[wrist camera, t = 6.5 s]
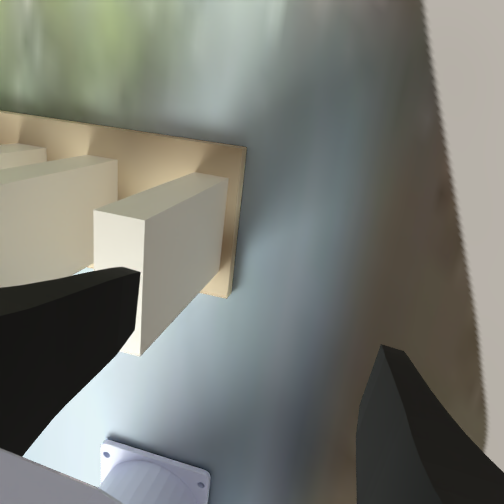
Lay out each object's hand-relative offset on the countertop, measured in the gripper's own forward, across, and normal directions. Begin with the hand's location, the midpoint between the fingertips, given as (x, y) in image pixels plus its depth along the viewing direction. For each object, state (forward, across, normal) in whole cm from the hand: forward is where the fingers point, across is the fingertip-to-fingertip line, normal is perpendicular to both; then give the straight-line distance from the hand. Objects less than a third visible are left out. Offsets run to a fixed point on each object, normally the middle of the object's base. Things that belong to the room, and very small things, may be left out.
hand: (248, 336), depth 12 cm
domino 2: (+10, +5, 0) cm, 11 cm away
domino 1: (+10, +11, +1) cm, 15 cm away
